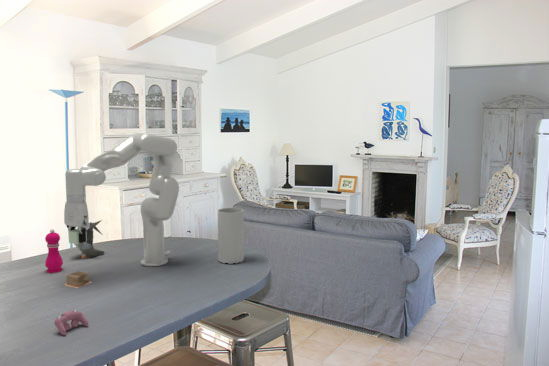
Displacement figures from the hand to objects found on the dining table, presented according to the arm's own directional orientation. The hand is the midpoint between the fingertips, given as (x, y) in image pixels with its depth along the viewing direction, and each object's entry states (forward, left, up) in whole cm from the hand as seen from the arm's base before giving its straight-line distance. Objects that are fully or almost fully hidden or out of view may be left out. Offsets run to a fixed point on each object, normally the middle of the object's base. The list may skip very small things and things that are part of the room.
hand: (77, 241), depth 211 cm
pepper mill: (-3, -19, -18) cm, 26 cm away
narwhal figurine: (-28, -25, -18) cm, 42 cm away
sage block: (0, 0, 0) cm, 0 cm away
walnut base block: (+4, +4, -17) cm, 18 cm away
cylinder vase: (-57, +40, -18) cm, 72 cm away
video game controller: (+34, +35, -18) cm, 52 cm away
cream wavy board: (0, +1, -18) cm, 18 cm away
